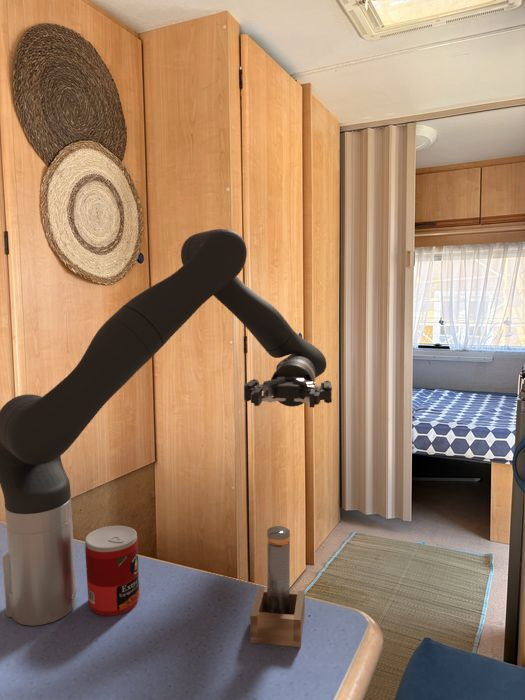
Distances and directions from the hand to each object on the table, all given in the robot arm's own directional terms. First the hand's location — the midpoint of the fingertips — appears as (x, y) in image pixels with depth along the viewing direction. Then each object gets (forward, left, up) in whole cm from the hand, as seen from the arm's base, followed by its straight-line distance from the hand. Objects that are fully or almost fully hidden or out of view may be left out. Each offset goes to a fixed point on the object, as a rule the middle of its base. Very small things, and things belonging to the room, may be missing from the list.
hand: (283, 400), depth 81 cm
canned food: (-27, -5, -32) cm, 42 cm away
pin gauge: (0, -8, -31) cm, 32 cm away
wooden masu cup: (0, -8, -32) cm, 33 cm away
